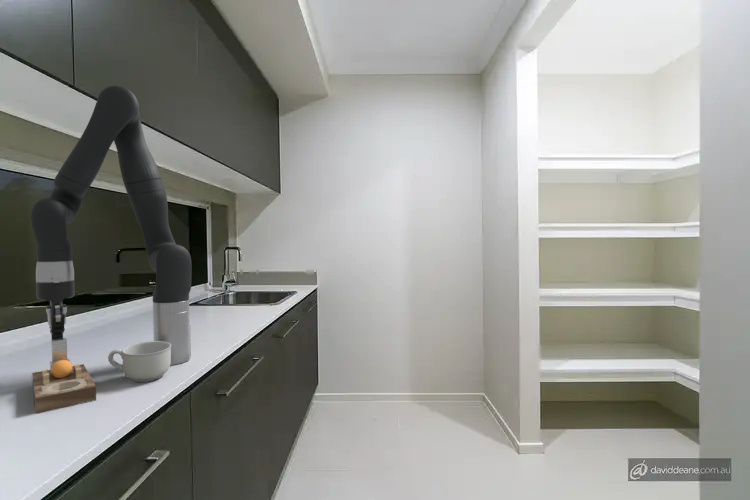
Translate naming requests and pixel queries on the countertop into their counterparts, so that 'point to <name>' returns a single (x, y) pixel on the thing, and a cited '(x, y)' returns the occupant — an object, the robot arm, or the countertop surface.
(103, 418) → the countertop surface
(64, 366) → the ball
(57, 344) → the grey upright block
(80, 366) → the wooden holder
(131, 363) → the teacup
